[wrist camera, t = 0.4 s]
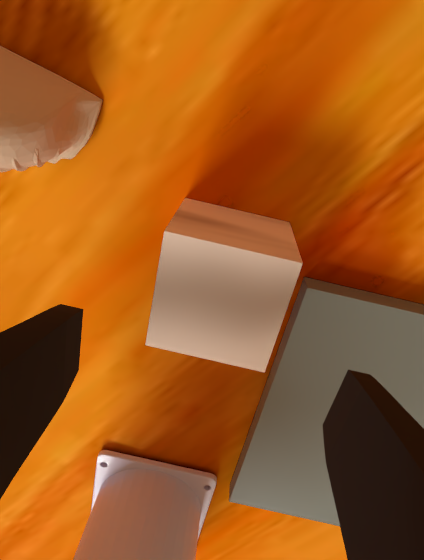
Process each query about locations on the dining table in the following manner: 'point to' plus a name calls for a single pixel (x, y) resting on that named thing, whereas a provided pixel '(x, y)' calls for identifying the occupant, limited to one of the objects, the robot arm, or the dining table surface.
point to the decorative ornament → (41, 114)
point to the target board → (324, 392)
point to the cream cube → (223, 284)
